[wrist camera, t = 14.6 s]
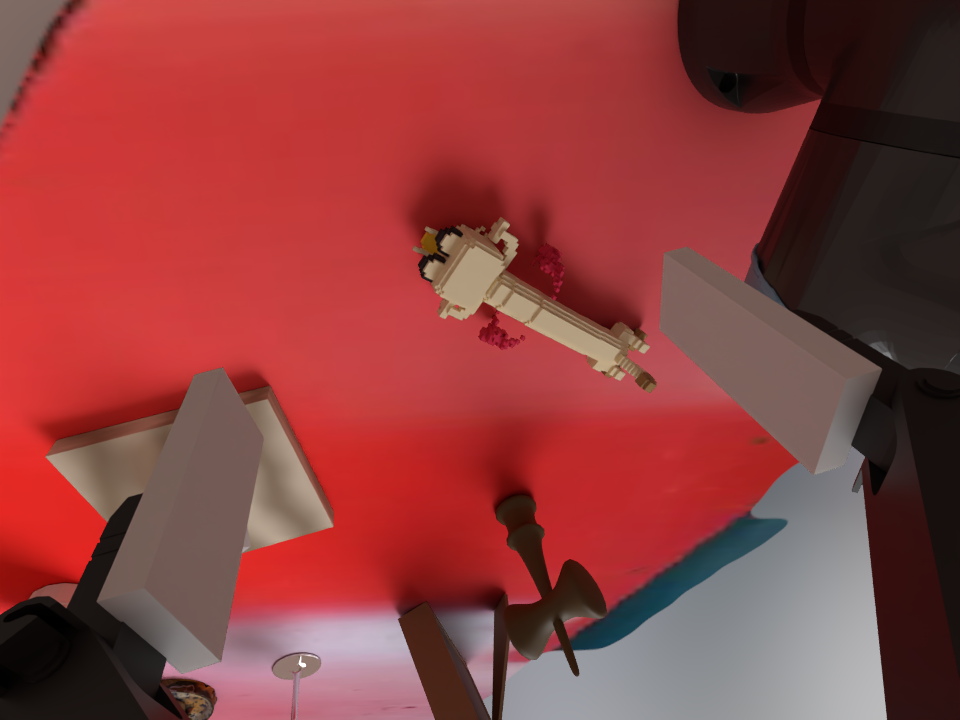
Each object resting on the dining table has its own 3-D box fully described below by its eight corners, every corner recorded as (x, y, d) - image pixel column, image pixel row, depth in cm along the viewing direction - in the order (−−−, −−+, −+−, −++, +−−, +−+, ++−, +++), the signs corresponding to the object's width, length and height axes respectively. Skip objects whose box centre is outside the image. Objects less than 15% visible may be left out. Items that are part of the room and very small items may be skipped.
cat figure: (646, 305, 51) (451, 177, 37) (701, 353, 44) (487, 218, 31) (585, 377, 54) (385, 283, 41) (627, 431, 48) (405, 341, 34)
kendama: (557, 492, 62) (635, 656, 46) (500, 536, 64) (555, 707, 48) (529, 472, 59) (602, 641, 42) (470, 519, 61) (518, 696, 44)
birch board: (270, 385, 44) (267, 399, 42) (333, 511, 54) (333, 526, 53) (56, 440, 42) (45, 456, 40) (165, 560, 52) (159, 577, 51)
